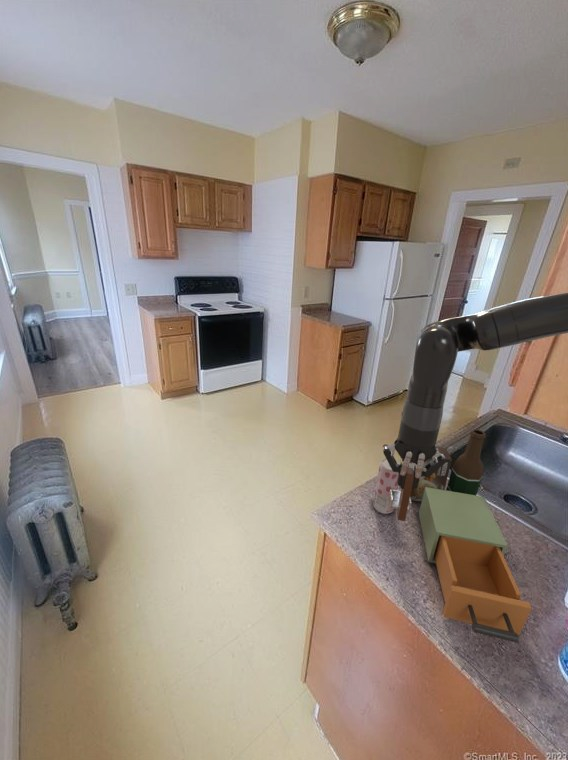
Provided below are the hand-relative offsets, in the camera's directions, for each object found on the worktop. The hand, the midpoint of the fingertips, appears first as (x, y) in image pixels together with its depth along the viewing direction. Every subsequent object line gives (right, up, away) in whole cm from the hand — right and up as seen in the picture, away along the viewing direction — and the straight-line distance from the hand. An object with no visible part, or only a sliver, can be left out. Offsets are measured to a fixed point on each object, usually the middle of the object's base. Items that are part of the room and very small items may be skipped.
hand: (406, 487), depth 73 cm
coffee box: (+14, -11, +25) cm, 30 cm away
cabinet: (+15, -17, +9) cm, 25 cm away
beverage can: (+1, -13, +20) cm, 23 cm away
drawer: (+12, -22, -6) cm, 26 cm away
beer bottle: (+24, -12, +22) cm, 35 cm away
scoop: (0, -7, +5) cm, 9 cm away
